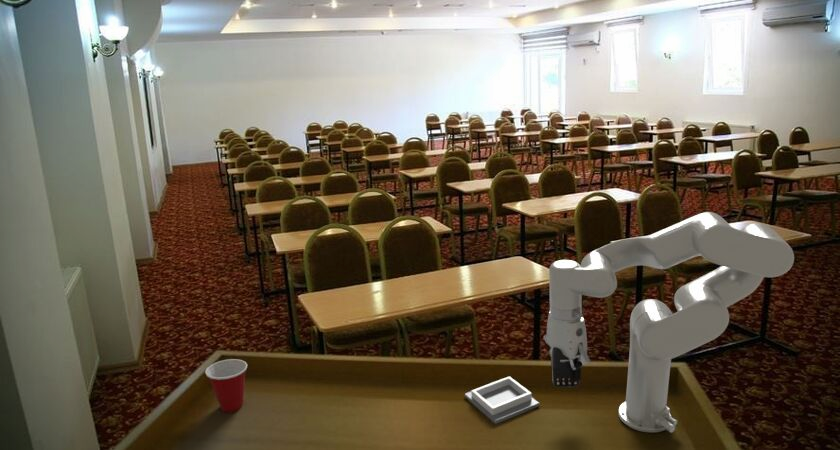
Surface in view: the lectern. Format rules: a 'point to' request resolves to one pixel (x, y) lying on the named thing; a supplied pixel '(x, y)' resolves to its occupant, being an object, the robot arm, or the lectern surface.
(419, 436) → the lectern surface
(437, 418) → the lectern surface
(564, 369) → the battery charger
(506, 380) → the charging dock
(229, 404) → the plastic cup
